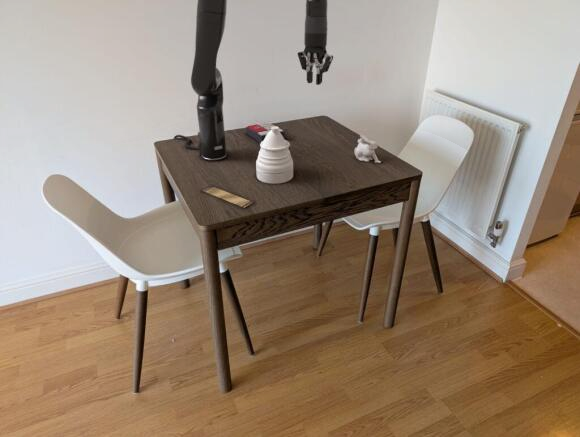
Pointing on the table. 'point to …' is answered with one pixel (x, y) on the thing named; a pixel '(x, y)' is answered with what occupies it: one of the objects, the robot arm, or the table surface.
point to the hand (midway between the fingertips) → (314, 83)
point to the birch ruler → (228, 197)
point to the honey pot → (274, 159)
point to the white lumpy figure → (366, 149)
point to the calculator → (261, 131)
